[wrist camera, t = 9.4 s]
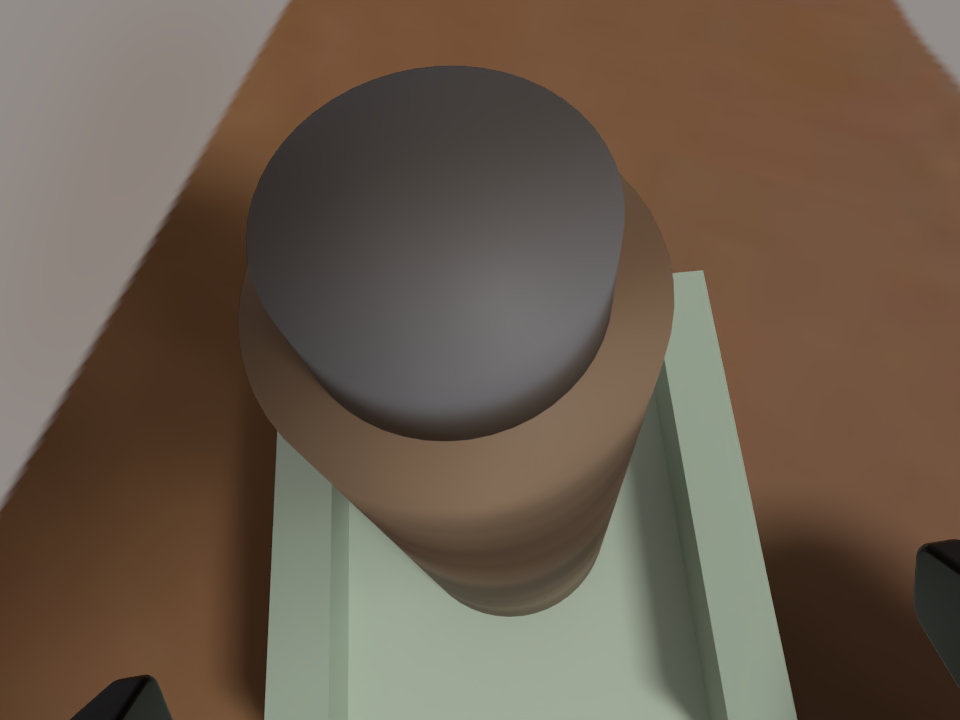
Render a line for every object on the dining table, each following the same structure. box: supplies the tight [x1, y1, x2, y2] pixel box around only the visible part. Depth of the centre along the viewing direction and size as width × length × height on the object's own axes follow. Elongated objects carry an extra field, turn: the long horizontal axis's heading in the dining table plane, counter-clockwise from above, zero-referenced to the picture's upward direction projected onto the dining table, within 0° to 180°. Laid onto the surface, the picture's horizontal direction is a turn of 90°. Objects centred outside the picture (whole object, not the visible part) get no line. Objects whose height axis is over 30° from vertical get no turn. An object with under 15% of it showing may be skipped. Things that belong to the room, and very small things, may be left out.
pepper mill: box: [238, 66, 674, 617], centre depth 14 cm, size 5×5×15 cm
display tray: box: [264, 271, 797, 720], centre depth 21 cm, size 13×12×3 cm
